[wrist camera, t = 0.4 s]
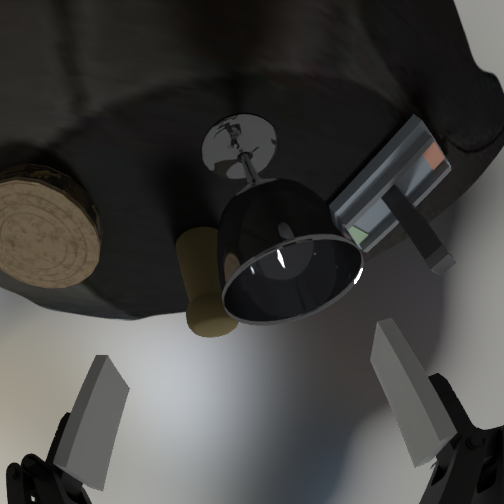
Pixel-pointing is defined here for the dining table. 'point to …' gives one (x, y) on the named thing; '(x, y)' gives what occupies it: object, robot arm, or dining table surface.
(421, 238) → the handle
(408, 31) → the dining table surface
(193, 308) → the cork
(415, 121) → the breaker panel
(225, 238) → the wine glass
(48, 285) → the wood slice
